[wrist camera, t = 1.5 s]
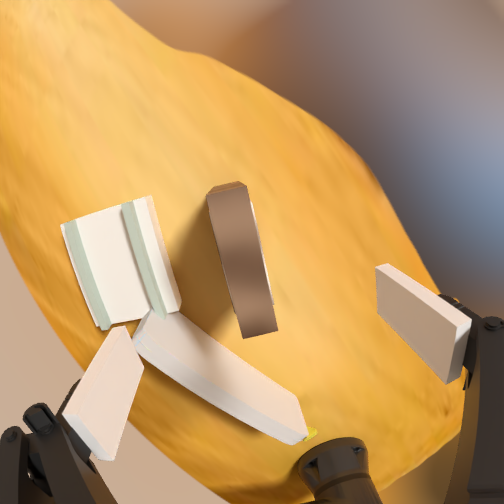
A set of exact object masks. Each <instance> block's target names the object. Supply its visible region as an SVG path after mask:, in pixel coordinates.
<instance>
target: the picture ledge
mask: <svg viewBox="0 0 504 504" xmlns="http://www.w3.org/2000/svg"><path fill="white" fill-rule="evenodd" d="M60 226H61V230H62V233H63V237H64V240H65V243H66V246H67V250H68V253H69V256H70V259H71V262H72V265H73V268H74V271H75V274H76V276H77V279H78V282H79V285H80V287H81V290H82V293H83V295H84V298H85V300H86V303H87V305H88V308H89V310H90V312H91V315H92V317H93V319H94V322H95V324H96V326H100V328H101V330H108V329H109V328H110V326H111V325H112V324H114V323H120V322H125V321H130V320H136V319H141V318H143V317H144V316H145V315H146V313H147V312H148V311H149V310H150V309H151V308H152V307H153V309H154V312H155V313H156V314H157V315H158V316H159V317H161V318H162V319H166V316H167V313H171V312H176V311H179V309H180V306H181V303H182V299H181V296H180V293H179V289H178V286H177V283H176V280H175V277H174V274H173V270H172V267H171V264H170V260H169V257H168V254H167V250H166V247H165V243H164V240H163V236H162V233H161V229H160V225H159V222H158V218H157V214H156V210H155V207H154V203H153V199H152V195H149V196H146V197H142V198H139V199H136V200H132V201H129V202H126V203H123V204H119V205H116V206H113V207H110V208H107V209H104V210H101V211H98V212H95V213H92V214H89V215H86V216H83V217H80V218H77V219H74V220H72V221H69V222H66V223H64V224H61V225H60Z"/></svg>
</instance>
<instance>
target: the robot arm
mask: <svg viewBox="0 0 504 504" xmlns="http://www.w3.org/2000/svg"><path fill="white" fill-rule="evenodd" d="M375 272H376V289H377V313H378V314H379V315H380V316H381V317H382V318H383V319H384V320H385V321H386V322H387V323H388V324H389V325H390V326H391V327H392V328H393V329H394V330H395V331H396V332H397V333H398V335H399V336H400V337H401V338H402V339H403V340H404V341H405V342H406V343H407V344H408V345H409V346H410V347H411V348H412V349H413V350H414V351H415V352H416V353H417V354H418V355H419V356H420V357H421V358H422V360H423V361H424V362H425V363H426V364H427V365H428V366H429V367H430V368H431V369H432V370H433V371H434V372H435V373H436V374H437V376H438V377H439V378H440V379H441V380H442V381H443V382H444V383H445V384H448V383H450V382H452V381H454V380H455V379H457V378H459V377H460V375H461V371H462V367H463V366H464V367H465V368H466V369H467V370H468V373H467V377H466V380H465V384H464V387H463V390H465V389H466V390H465V401H464V411H463V419H462V426H461V432H460V438H459V444H458V450H457V455H456V459H455V464H454V468H453V472H452V477H451V480H450V485H449V488H448V491H447V495H446V498H445V502H444V504H504V320H502V319H501V318H498V317H493V316H491V317H485V318H483V319H482V318H481V317H480V316H478V315H477V314H475V313H474V312H472V311H471V310H469V309H468V308H466V307H464V306H463V305H462V304H460V303H458V302H457V301H456V300H454V299H453V298H451V297H449V296H446V295H442V294H439V295H436V294H434V293H433V292H431V291H430V290H428V289H427V288H425V287H424V286H422V285H421V284H419V283H418V282H416V281H415V280H413V279H411V278H410V277H408V276H407V275H405V274H404V273H402V272H401V271H399V270H397V269H396V268H394V267H393V266H391V265H389V264H388V263H387V264H384V265H380V266H377V267H375ZM143 370H144V366H143V364H142V362H141V360H140V358H139V355H138V353H137V351H136V349H135V347H134V345H133V342H132V340H131V338H130V336H129V333H128V331H127V329H126V327H125V326H119V327H114V328H112V330H111V331H110V333H109V334H108V336H107V338H106V339H105V341H104V342H103V344H102V346H101V347H100V349H99V350H98V352H97V354H96V355H95V357H94V359H93V360H92V362H91V364H90V365H89V367H88V369H87V370H86V372H85V374H84V376H83V377H82V379H79V380H78V381H77V382H76V383H75V384H74V385H73V386H72V388H71V389H70V391H69V394H68V395H67V396H66V398H65V401H63V403H62V405H61V407H60V408H59V410H58V412H57V414H56V416H54V414H53V413H52V412H51V410H50V409H49V408H48V406H47V405H46V404H45V403H37V404H34V405H32V406H31V407H29V408H28V409H27V410H26V411H25V413H24V415H23V421H24V422H25V423H26V425H27V426H28V427H29V428H30V430H31V431H32V432H33V433H31V434H25V433H24V432H23V431H22V430H21V428H20V427H17V426H12V427H10V428H8V429H7V430H5V431H4V433H3V434H2V436H1V439H0V504H118V503H117V502H116V500H115V499H114V497H113V496H112V494H111V492H110V491H109V489H108V487H107V486H106V484H105V482H104V481H103V479H102V477H101V476H100V474H99V472H98V471H97V469H96V467H95V465H94V463H93V462H92V461H91V460H90V459H89V456H90V454H91V452H92V453H93V454H94V455H95V456H96V457H97V458H98V460H107V461H114V460H115V457H116V453H117V450H118V446H119V443H120V440H121V436H122V433H123V430H124V427H125V424H126V420H127V417H128V414H129V411H130V408H131V405H132V402H133V399H134V396H135V393H136V390H137V387H138V384H139V381H140V378H141V376H142V373H143ZM297 468H298V472H299V476H300V478H301V479H302V480H303V482H304V483H305V484H306V485H307V487H308V488H309V489H310V490H311V492H312V493H313V495H314V498H315V501H311V502H306V503H301V504H383V503H382V501H381V499H380V497H379V495H378V493H377V490H376V488H375V486H374V484H373V482H372V480H371V478H370V475H369V468H368V451H367V448H366V446H365V444H364V442H363V441H362V440H360V439H357V438H351V437H348V438H339V439H335V440H331V441H328V442H325V443H323V444H320V445H318V446H316V447H314V448H313V449H311V450H309V451H308V452H307V453H305V454H304V455H303V456H302V457H301V459H300V460H299V462H298V464H297ZM28 473H29V474H30V477H29V475H28Z"/></svg>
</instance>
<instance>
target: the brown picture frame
mask: <svg viewBox="0 0 504 504" xmlns="http://www.w3.org/2000/svg"><path fill="white" fill-rule="evenodd" d="M206 199H207V203H208V207H209V216H210V220H211V224H212V228H213V232H214V236H215V240H216V244H217V248H218V252H219V255H220V259H221V263H222V267H223V271H224V275H225V278H226V282H227V286H228V290H229V293H230V297H231V301H232V304H233V308H234V312H235V314H236V315H237V319H238V323H239V326H240V330H241V333H242V337H243V339H245V338H250V337H254V336H259V335H263V334H267V333H271V332H275V331H278V327H277V323H276V318H275V313H274V309H273V305H274V301H273V297H272V292H271V287H270V283H269V278H268V273H267V269H266V264H265V259H264V255H263V250H262V245H261V241H260V236H259V232H258V227H257V222H256V218H255V213H254V209H253V204H252V202H251V201H250V199H249V194H248V190H247V186H246V185H244V184H243V183H241V182H239V181H237V182H233V183H228V184H224V185H220V186H216V187H213V188H212V189H211V190H210V191H209V192H208V194H207V195H206Z"/></svg>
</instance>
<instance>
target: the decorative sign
mask: <svg viewBox="0 0 504 504" xmlns="http://www.w3.org/2000/svg"><path fill="white" fill-rule="evenodd" d="M131 340H132V342H133V345H134V347H135V349H136V351H137V352H138V353H139V354H140V355H141V356H142V357H143V358H145V359H146V360H147V361H148V362H150V363H151V364H153V365H154V366H155V367H157V368H158V369H160V370H161V371H162V372H164V373H165V374H167V375H168V376H170V377H171V378H172V379H174V380H175V381H177V382H178V383H180V384H181V385H183V386H184V387H186V388H187V389H189V390H190V391H192V392H194V393H195V394H197V395H198V396H200V397H202V398H203V399H205V400H206V401H208V402H210V403H211V404H213V405H215V406H216V407H218V408H220V409H221V410H223V411H225V412H227V413H228V414H230V415H232V416H234V417H235V418H237V419H239V420H241V421H243V422H244V423H246V424H248V425H250V426H252V427H254V428H256V429H258V430H260V431H262V432H263V433H265V434H267V435H269V436H271V437H273V438H276V439H278V440H280V441H282V442H284V443H286V444H289V445H294V444H296V443H298V442H299V441H302V439H303V441H308V440H309V439H311V438H313V437H314V436H315V435H316V434H317V431H316V428H312V427H309V426H306V424H305V421H304V418H303V415H302V412H301V408H300V405H299V402H298V399H297V397H296V396H295V395H294V394H292V393H291V392H289V391H288V390H286V389H284V388H283V387H281V386H280V385H278V384H277V383H275V382H274V381H272V380H271V379H269V378H268V377H266V376H265V375H264V374H262V373H261V372H259V371H258V370H256V369H255V368H253V367H252V366H251V365H249V364H248V363H246V362H245V361H243V360H242V359H241V358H239V357H238V356H236V355H235V354H234V353H232V352H231V351H230V350H228V349H227V348H226V347H224V346H223V345H221V344H220V343H219V342H217V341H216V340H215V339H213V338H212V337H211V336H210V335H208V334H207V333H206V332H204V331H203V330H202V329H200V328H199V327H198V326H197V325H195V324H194V323H193V322H191V321H190V320H189V319H188V318H186V317H185V316H184V315H183V314H181V313H180V312H179V311H176V312H171V313H167V316H166V319H162V318H161V317H159V316H158V315H157V314H156V313H155V312H154V309H153V307H152V308H151V309H150V310H149V311H148V312H147V313H146V315H145V316H144V317H143V318H142V320H141V321H140V323H139V325H138V327H137V329H136V331H135V333H134V335H133V337H132V339H131Z"/></svg>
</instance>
